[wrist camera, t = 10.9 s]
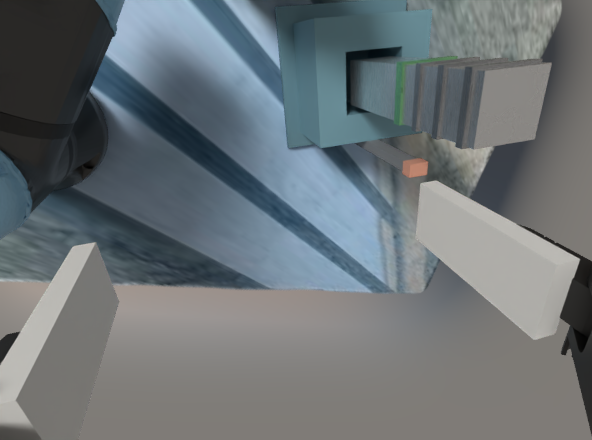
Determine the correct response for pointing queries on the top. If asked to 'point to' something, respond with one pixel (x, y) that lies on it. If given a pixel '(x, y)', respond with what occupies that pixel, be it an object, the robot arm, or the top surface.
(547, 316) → the robot arm
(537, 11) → the top surface
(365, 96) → the column
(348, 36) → the stand base
